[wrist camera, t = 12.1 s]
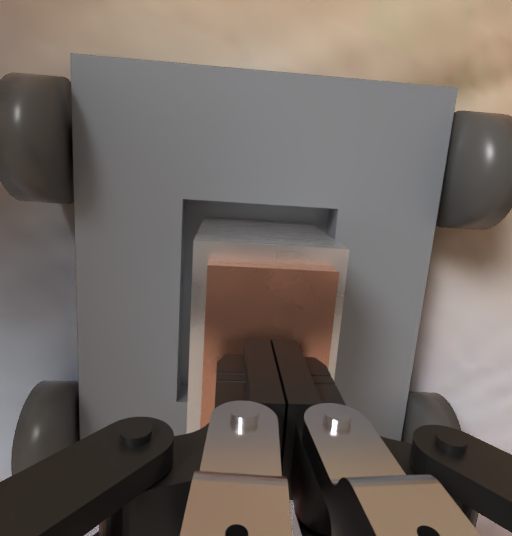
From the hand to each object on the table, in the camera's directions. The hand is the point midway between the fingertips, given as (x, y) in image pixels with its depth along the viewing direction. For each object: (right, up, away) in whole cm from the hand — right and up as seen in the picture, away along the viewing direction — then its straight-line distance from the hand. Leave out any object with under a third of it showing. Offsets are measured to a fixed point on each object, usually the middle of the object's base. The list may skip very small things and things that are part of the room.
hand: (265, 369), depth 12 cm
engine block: (0, +2, +7) cm, 7 cm away
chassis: (-1, +2, +7) cm, 8 cm away
